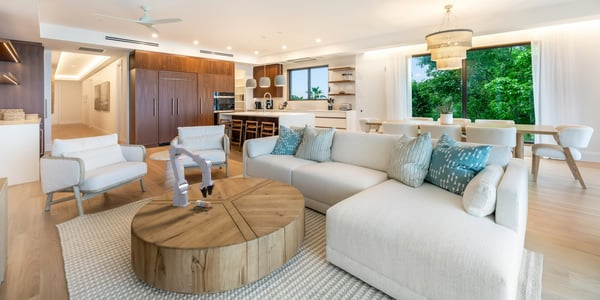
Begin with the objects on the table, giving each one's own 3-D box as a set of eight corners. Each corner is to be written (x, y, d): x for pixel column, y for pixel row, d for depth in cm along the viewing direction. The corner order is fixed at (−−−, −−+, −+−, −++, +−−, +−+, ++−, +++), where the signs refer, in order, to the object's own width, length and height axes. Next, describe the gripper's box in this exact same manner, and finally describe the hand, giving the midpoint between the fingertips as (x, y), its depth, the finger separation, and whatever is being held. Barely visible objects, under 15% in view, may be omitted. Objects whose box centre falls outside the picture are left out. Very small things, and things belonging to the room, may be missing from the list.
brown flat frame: (193, 209, 206) (193, 207, 206) (199, 205, 212) (199, 204, 212) (207, 211, 202) (207, 209, 202) (213, 207, 209) (213, 206, 208)
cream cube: (195, 205, 207) (195, 201, 206) (198, 204, 210) (198, 200, 209) (199, 206, 206) (199, 201, 206) (201, 204, 209) (201, 200, 208)
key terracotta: (204, 206, 205) (204, 202, 204) (207, 205, 207) (207, 201, 207) (208, 207, 204) (208, 203, 203) (210, 205, 207) (210, 201, 206)
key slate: (200, 206, 206) (200, 202, 205) (202, 204, 209) (202, 200, 208) (203, 206, 205) (203, 202, 205) (206, 205, 208) (206, 201, 207)
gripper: (205, 180, 194) (205, 200, 196) (217, 175, 207) (218, 193, 210) (196, 179, 196) (197, 199, 198) (209, 174, 210) (209, 192, 212)
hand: (207, 196), depth 204 cm, fingers open, 5 cm apart
